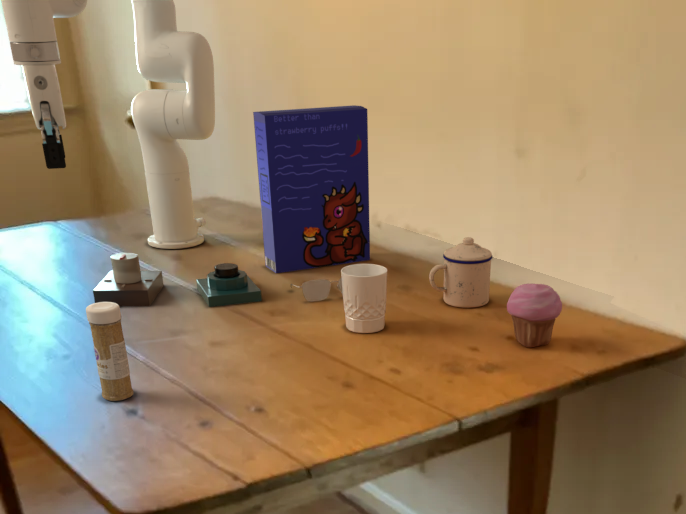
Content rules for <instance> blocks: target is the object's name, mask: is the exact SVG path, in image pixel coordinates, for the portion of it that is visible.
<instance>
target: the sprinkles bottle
mask: <svg viewBox="0 0 686 514" xmlns="http://www.w3.org/2000/svg"><path fill="white" fill-rule="evenodd" d="M120 307H121V306H119V305H118V304H116V303H113V302H98V303H95V302H93V303H91V304H89V305H87V306H86V308H85V315H86V320H87V321H88V324H89V326H90V332H91V338H92V343H93V350H94V351H93V352H94V356H95V361H96V368H97V373H98V377H99V382H100V388H101V396H102V398H103V399H104V400H106V401H111V402H117V401H118V402H120V401H124V400H126V399H129V398H131V397H132V396H134V389H133V386H132V381H131V375H130V374H131V370H130V365H129V364H130V363H129V357H128V353H127V345H126V340H125V337H124V332H123V326H122V312H121V308H120Z"/></svg>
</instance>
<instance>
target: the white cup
mask: <svg viewBox="0 0 686 514" xmlns="http://www.w3.org/2000/svg"><path fill="white" fill-rule="evenodd" d="M340 278H342V291H343V295H342V302H343V310H344V317H345V318H344V319H345V328H346V329H347V330H348V331H350V332H353V333H356V334H357V333H359V334H374V333H377V332H380V331H382V330H384V328H385V325H386V310H387V294H388V292H387V291H388V268H387V267H385V266H383V265H380V264H374V263H354V264H350V265H346V266H344V267H342V268H341V269H340Z"/></svg>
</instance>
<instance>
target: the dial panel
mask: <svg viewBox="0 0 686 514" xmlns="http://www.w3.org/2000/svg"><path fill="white" fill-rule="evenodd" d="M140 271H141V277H142V280H141V281H139V282H136V283H130V284H120V283H116V282H115V280H114V274H113V270H110V271H109V272H108V273H107V274H106V275H105V276H104V278H102V280H100V282H99V283H98V284H97V286H96V287H95V288H94V289H92V294H93V299H94V303H98V302H113V303H116V304H118V305H119V307H151V305H152V304H153V302H154V301H155V300H156V298H157V297H158V295H159V293H160V292H161V291H162V289H163V287H164V286H165V285H164V279H163V271H162V270H140Z"/></svg>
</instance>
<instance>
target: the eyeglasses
mask: <svg viewBox="0 0 686 514" xmlns="http://www.w3.org/2000/svg"><path fill="white" fill-rule="evenodd" d="M334 282H335V283H337V285H336V286H337V289H338V291H340V293H341V295H342V296H343V291H342V278H341V277H340V278H339V279H338V280H332V281H330V279H327V278H318V279H310V280H307V281H304V282H303V283H301V285H296V284H293V283H291V284H290V286H293V287H296V288H299V289H302V294H303V297H304V299H305V300H306V301H307V302H310V303H311V302H313V303H314V302H321V301H325V300H326V299H328V298H329V296H330V292H331V288H332V283H334Z"/></svg>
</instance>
